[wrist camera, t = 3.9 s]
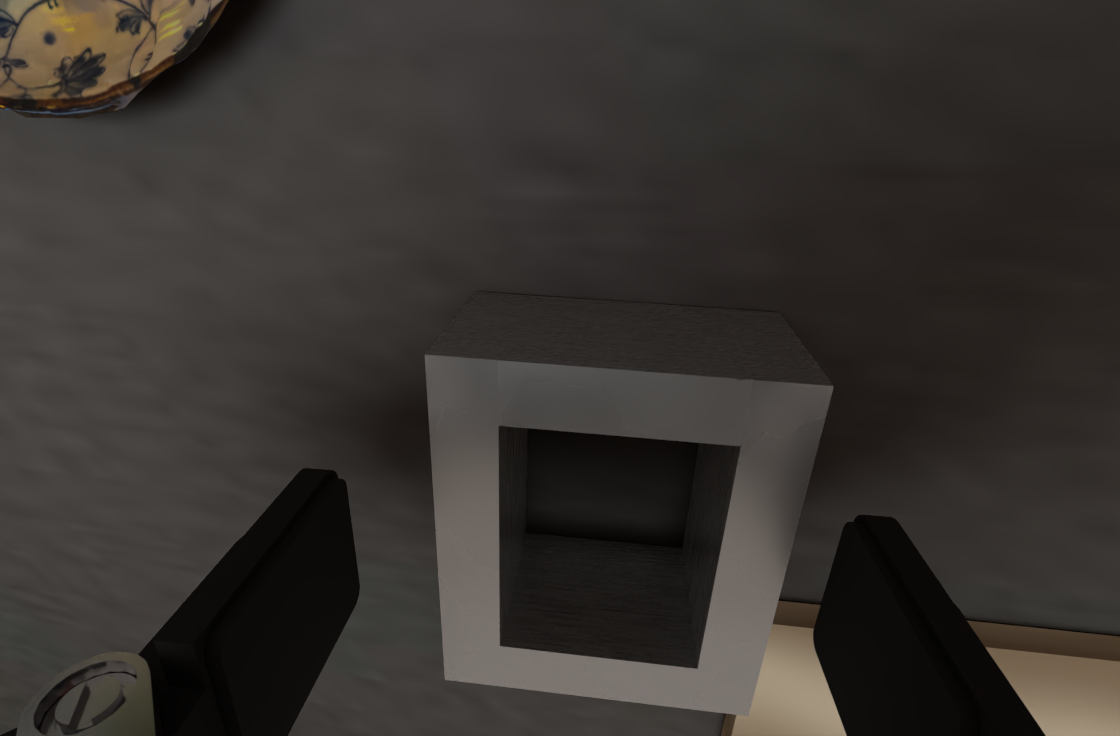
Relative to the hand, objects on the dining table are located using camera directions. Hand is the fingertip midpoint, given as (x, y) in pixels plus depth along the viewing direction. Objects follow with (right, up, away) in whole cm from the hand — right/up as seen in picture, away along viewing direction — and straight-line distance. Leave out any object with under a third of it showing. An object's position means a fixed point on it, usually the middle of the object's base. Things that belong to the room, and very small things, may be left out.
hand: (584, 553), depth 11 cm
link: (+1, +1, +3) cm, 3 cm away
